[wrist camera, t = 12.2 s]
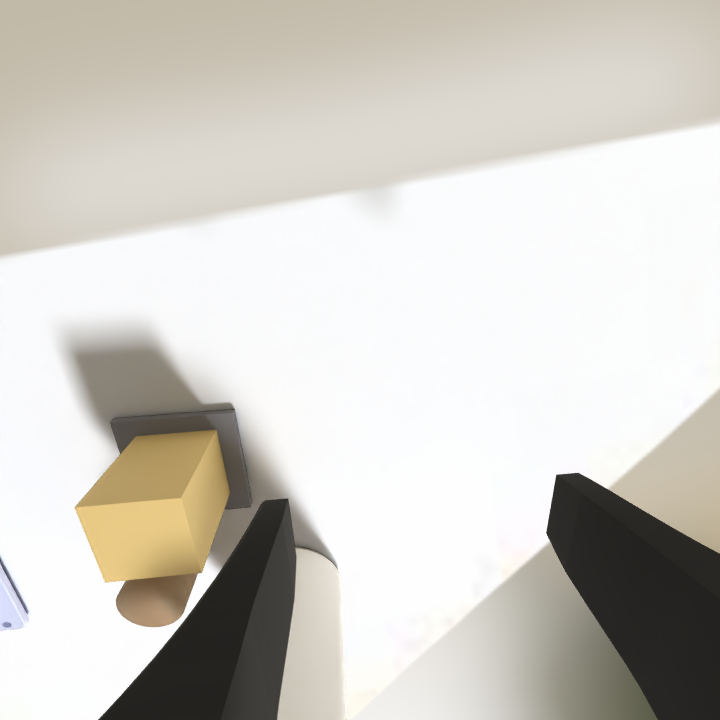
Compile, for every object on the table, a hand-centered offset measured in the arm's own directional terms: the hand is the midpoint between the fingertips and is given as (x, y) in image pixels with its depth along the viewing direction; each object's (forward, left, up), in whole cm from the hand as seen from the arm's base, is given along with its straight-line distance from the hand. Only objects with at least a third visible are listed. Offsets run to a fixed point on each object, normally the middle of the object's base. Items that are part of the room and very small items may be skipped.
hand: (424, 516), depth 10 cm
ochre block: (-10, -4, -10) cm, 15 cm away
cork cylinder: (-12, -10, -10) cm, 18 cm away
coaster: (-10, -4, -10) cm, 15 cm away
